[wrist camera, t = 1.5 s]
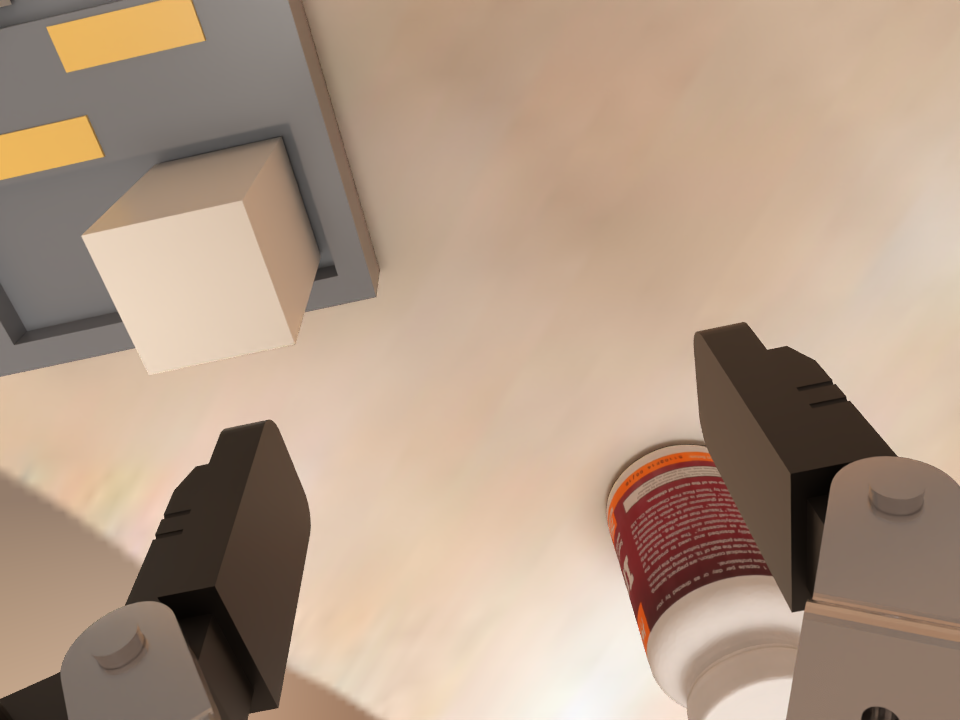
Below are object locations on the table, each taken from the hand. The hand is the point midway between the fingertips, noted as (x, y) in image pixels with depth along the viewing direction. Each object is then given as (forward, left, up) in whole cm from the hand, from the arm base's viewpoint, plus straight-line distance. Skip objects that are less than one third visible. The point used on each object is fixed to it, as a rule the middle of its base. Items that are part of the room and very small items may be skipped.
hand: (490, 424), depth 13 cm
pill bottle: (-6, +16, -16) cm, 24 cm away
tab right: (+7, 0, -14) cm, 16 cm away
